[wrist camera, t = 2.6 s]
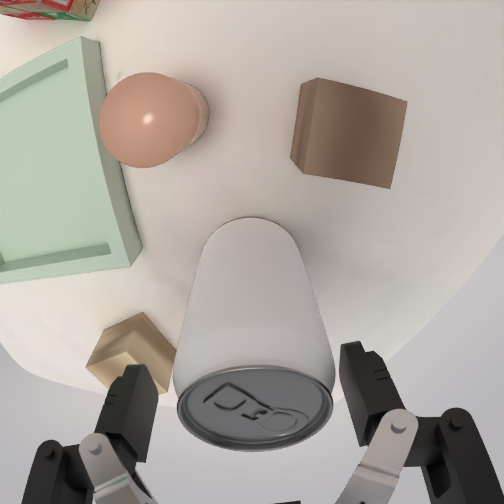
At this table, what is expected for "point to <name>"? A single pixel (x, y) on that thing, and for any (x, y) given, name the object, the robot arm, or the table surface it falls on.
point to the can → (253, 344)
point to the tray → (60, 171)
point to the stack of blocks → (50, 9)
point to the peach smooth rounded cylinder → (151, 119)
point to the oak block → (133, 352)
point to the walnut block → (347, 132)
